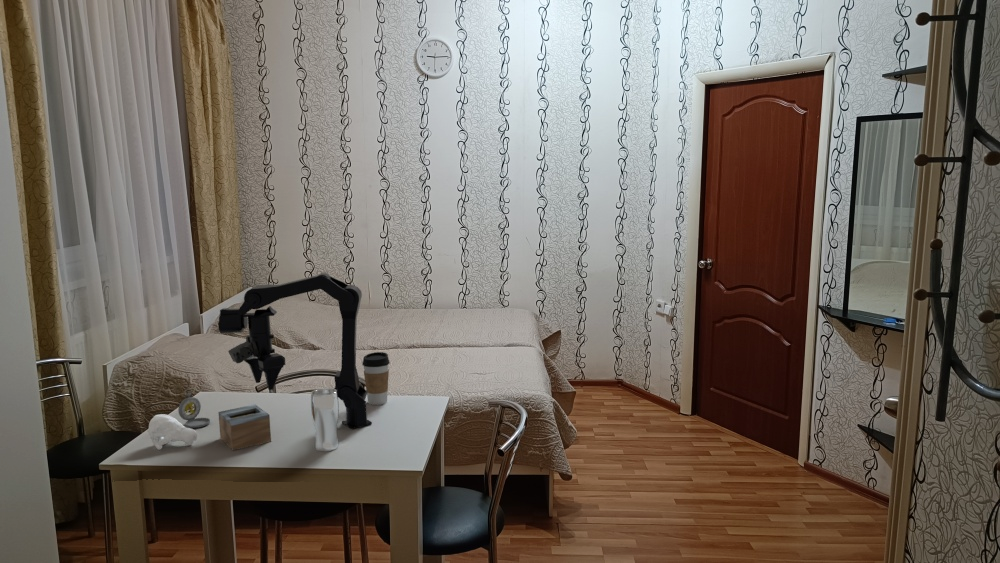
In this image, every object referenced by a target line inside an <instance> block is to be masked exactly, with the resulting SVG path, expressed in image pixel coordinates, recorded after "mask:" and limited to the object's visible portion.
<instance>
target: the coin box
mask: <svg viewBox="0 0 1000 563" xmlns="http://www.w3.org/2000/svg"><path fill="white" fill-rule="evenodd" d="M253 413H254V414H253ZM217 414H218V422H219V423H218V424H219V436H220V437H219V438H220V440H221V441H222V442H223V443H225V445H227V446H228V445H229V446H228V448H230V447H231V448H232V449H233V450H232V449H231V448H230V449H231V450H232V451H236V450H235V449H237V450H240V449H239V448H241V449H244V448H243V447H245V448H248V446H250V447H254V446H257V444H258V445H262V444H265V443H269V442H272V436H271V434H272V432H271V421H270V414H269V412H267V411H265V410H264V409H263V408H261V407H260V406H258V405H257V404H251V405H245V406H242V407H236V408H235V407H234V408H232V409H231V408H230V409H226V410H222V411H218V413H217ZM248 414H250V415H248ZM244 415H246V416H244ZM239 416H241V417H239ZM234 417H236V418H234ZM231 418H232V419H231ZM253 445H254V446H253Z"/></svg>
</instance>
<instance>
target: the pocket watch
mask: <svg viewBox="0 0 1000 563" xmlns="http://www.w3.org/2000/svg"><path fill="white" fill-rule="evenodd" d="M186 391H188V392H187V394H186ZM189 391H190V392H189ZM192 393H193V390H192V389H191V388H187V389H186V390H184V391H183V394H184V395H186V396H187V397H186V398H184V399H183V400H181V402H180V404H179V406H178V411H177V412H178V415H179V417H180V418H181V419H182V420H184V421H185V423H184V424H185V425H184V426H185V427H186V428H190V429H193V428H195V429H196V428H202V427H205V426H207V425H209V424H210V423H211V419H210V418H208V417H197V416H199V414H200V413H201V406H202V405H201V402H200V400H199V399H198V398H196V397H195V396H191V395H192Z"/></svg>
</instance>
